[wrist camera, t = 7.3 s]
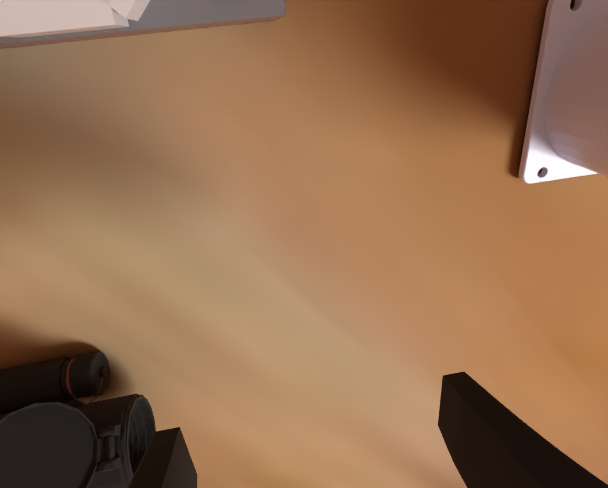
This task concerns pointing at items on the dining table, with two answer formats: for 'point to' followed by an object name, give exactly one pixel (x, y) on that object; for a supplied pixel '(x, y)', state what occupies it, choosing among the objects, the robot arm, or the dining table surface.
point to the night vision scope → (69, 426)
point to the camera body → (121, 18)
